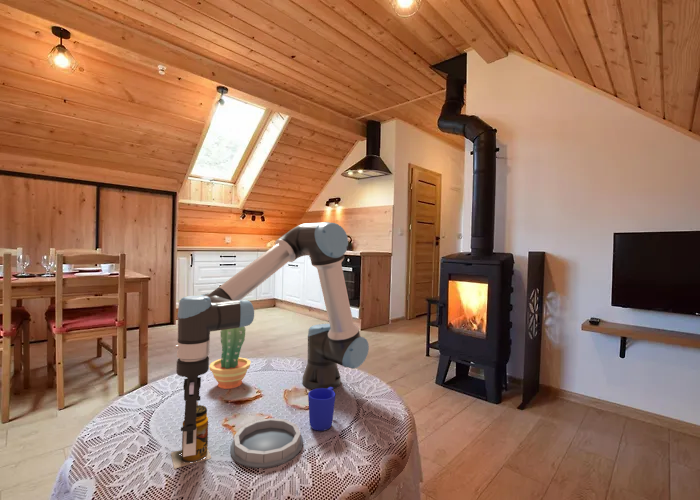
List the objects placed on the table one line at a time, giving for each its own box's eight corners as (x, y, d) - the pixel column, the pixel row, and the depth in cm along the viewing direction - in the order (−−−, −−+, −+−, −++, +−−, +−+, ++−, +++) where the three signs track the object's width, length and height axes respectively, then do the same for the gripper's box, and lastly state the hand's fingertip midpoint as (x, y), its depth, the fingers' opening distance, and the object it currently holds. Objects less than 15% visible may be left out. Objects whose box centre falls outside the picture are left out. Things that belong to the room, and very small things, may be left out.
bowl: (293, 422, 106) (293, 412, 106) (310, 458, 88) (311, 446, 88) (228, 433, 99) (228, 423, 99) (233, 475, 81) (233, 462, 81)
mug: (342, 416, 110) (343, 385, 110) (328, 436, 99) (329, 401, 99) (319, 412, 113) (320, 381, 113) (302, 430, 102) (303, 396, 101)
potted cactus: (259, 382, 136) (260, 319, 135) (226, 396, 123) (227, 326, 122) (233, 373, 144) (234, 314, 144) (199, 385, 131) (201, 320, 131)
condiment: (211, 458, 87) (212, 411, 87) (174, 469, 83) (175, 420, 82) (205, 444, 93) (206, 400, 93) (170, 453, 89) (171, 407, 89)
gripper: (180, 344, 98) (178, 418, 98) (172, 376, 75) (169, 473, 75) (208, 342, 101) (206, 414, 101) (209, 372, 78) (206, 465, 78)
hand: (190, 439), depth 88 cm, fingers open, 13 cm apart
